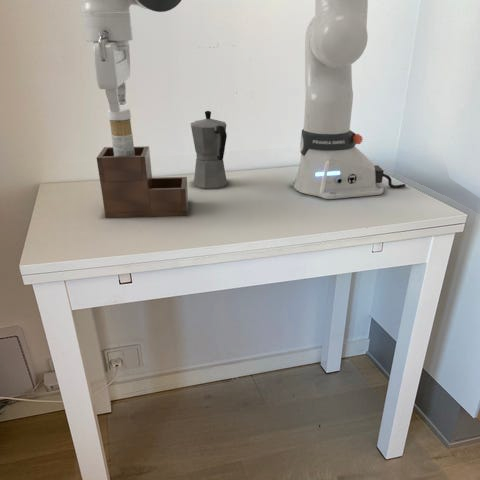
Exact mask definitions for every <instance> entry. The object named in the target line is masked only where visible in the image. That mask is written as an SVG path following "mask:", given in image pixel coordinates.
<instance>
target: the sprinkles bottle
mask: <svg viewBox="0 0 480 480" xmlns="http://www.w3.org/2000/svg"><path fill="white" fill-rule="evenodd" d="M131 115H132V114H131V109H130V108H128V107H120V111H119V112H111V111H110V108H109V109H108V110H107V118H108V120H109V126H110V133H111V134H110V135H111V143H112V147H113V151H114V156H135V153H134V147H135V145H134V136H133V135H134V134H133V131H132V122H131V118H132V116H131Z"/></svg>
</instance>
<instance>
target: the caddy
mask: <svg viewBox="0 0 480 480" xmlns="http://www.w3.org/2000/svg"><path fill="white" fill-rule="evenodd" d="M134 153H135V156H114V151H113V146H104V147H103V148H102V150H100V152H99V154H98V155H97V156H96V164H97V171H98V177H99V183H100V189H101V190H100V191H101V196H102V202H103V209H104V214H105V215H104V216H105V218H106V219H107V218H108V219H110V218H111V219H112V218H140V217H141V218H143V217H146V218H147V217H179V216H184V217H185V216H188V211H189V210H188V209H189V192H188V191H189V190H188V176H165V177H164V176H162V177H160V176H159V177H158V176H157V177H153V174H152V173H153V171H152V163H151V162H152V161H151V152H150V146H148V145H147V146H146V145H145V146H134Z"/></svg>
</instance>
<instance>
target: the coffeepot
mask: <svg viewBox="0 0 480 480" xmlns="http://www.w3.org/2000/svg"><path fill="white" fill-rule="evenodd" d="M204 115H205V118H204V119H199V120H194V121H192V122H190V129H191V134H192V140H193V145H194V150H195V151H194V152H195V153H196V154H195V156H196V159H195V168H194V177H193V185H194V187H197V188H199V189H203V190H205V189H206V190H214V189H221V188H223V187H226V186H227V185H228V180H227V176H226V174H227V173H226V169H225V162H224V155H225V151H226V150H225V149H226V143H227V137H228V135H227V123H226V121H223V120H218V119H214V118H211V116H212V111H210V110H206V111H204Z"/></svg>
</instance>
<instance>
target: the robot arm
mask: <svg viewBox="0 0 480 480" xmlns="http://www.w3.org/2000/svg"><path fill="white" fill-rule="evenodd" d="M181 2H182V0H81V14H82V21H83V22H82V23H83V29H84V34H85V41H86V42H90V43H91V42H93V43H92V44H93V60H94V69H95V78H96V83H97V87H98V89H100V90H104V91H105V96H106V98H107V101H108V105H109V109H110V111H111V112H119V111H120V108H121V106H123V105H126V104H127V92H126V90H127V85H126V83H127V82H126V81H127V80H129V78H130V77H131V55H130V41H133V40H134V39H133V28H132V19H131V12H130V11H131V10H130V7H131V6H132V5H133V6H137V7H139V8H141V9H144V10H150V11H153V12H155V13H157V12H158V13H164V12H165V13H166V12H169V11H171V10H173V9H175V8H176V7H177V6H178V5H179V4H181ZM314 3H315V8H314V17H313V18H311V20H310V22H309V23H308V25H307V27H306V30H305V35H304V82H305V83H304V85H305V99H304V116H303V128H302V130H301V135H300V142H299V143H300V144H299V145H300V146H299V150H300V151H299V152H300V160H299V165H298V170H297V174H296V178H295V182H294V184H293V189H294V190H296V191H297V192H299V193H302V194H305V195H309V196H315V197H318V198H322V199H324V200H337V199H346V198H357V197H358V198H359V197H368V196H379V195H382V194H383V193H384V190H385V189H384V185H383V184H382V183H383V180H384V179H383V178H385V179H386V180H387V182H388V186H389V187H390V188H391V189H401V188H406V186H407V185H406V184H405V183H402V184H396V185H395V184H393V183H392V181H393V179H392V177H391V176H390V175H388V174H386V173H384V169H382V168H381V167H380V165H376V164H375V165H374V162H372V160H371V159H370V158H368V156H366V155H365V153H363V152H362V151H361V150H360V149H359V148H357V146H356V145H360V144H362V143H363V140H364V139H363V136H362V135H360V133H356V132H354V131H352V130H351V121H352V110H353V102H354V91H353V73H352V71H353V70H352V64H354V63H355V62H357V61H358V60H359V59H360V58H361V57H362V56H363V54H364V52H365V50H366V48H367V44H368V38H369V37H368V27H367V26H368V6H369V4H368V3H369V0H315V2H314Z"/></svg>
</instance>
